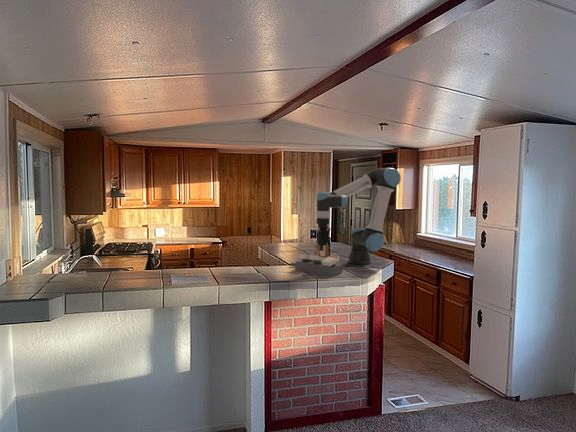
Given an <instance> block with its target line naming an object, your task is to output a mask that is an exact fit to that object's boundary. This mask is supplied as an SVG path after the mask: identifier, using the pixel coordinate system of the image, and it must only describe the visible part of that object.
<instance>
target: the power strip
mask: <svg viewBox="0 0 576 432" xmlns="http://www.w3.org/2000/svg"><path fill="white" fill-rule="evenodd" d="M290 266H294V267H295V271H300V270H302V271H301V272H306V271H308V272H307V273H311V272H313V274H316V273H318V274H317V275H322V274H323V276H328V277H333V276H337V275H340V274H342V273H343V264H339V263H335V264H333V265H332V266H324V265H322V262H320V261H315V260H310V259H304V258H301V260H296V261H295V263H294V262H290Z"/></svg>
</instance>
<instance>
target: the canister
mask: <svg viewBox="0 0 576 432" xmlns="http://www.w3.org/2000/svg"><path fill="white" fill-rule="evenodd" d="M315 238H316V239H317V236H316V235H315ZM331 241H332V237H330V236H329V238H328V244H327V245H325V256H320V245H318V243H317V240H315V244H314V255H315V256H320V257H325V258H327V257H329V256H330V255H331ZM315 261H316V260H315Z"/></svg>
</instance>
